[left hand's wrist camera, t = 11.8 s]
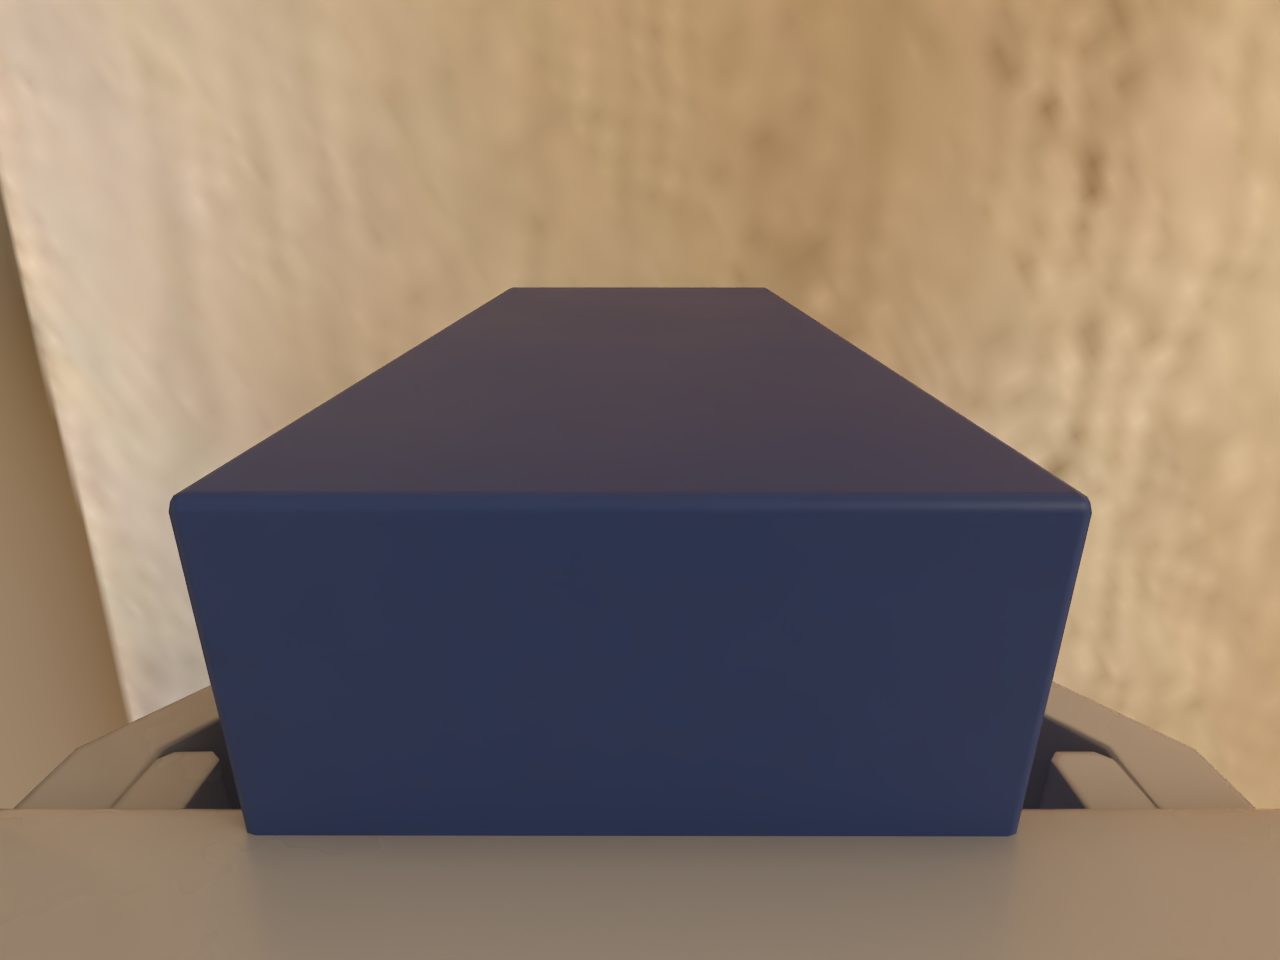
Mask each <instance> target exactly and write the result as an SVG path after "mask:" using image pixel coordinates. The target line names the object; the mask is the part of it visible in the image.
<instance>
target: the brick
mask: <svg viewBox="0 0 1280 960" xmlns="http://www.w3.org/2000/svg"><path fill="white" fill-rule="evenodd" d="M1091 514H1092V512H1091V505H1090V501H1089V499H1088V497H1087V496H1085V495H1084V494H1082V493H1081V492H1079V491H1078V490H1076V489H1074V488H1073V487H1071V486H1070V485H1068V484H1067V483H1065V482H1064V481H1062V480H1061V479H1059V478H1057V477H1056V476H1054V475H1053V474H1051V473H1050V472H1048V471H1047V470H1045V469H1044V468H1042V467H1041V466H1039V465H1037V464H1036V463H1034V462H1033V461H1031V460H1030V459H1028V458H1027V457H1025V456H1024V455H1022V454H1021V453H1019V452H1017V451H1016V450H1014V449H1013V448H1011V447H1010V446H1008V445H1007V444H1005V443H1004V442H1002V441H1000V440H999V439H997V438H996V437H994V436H993V435H991V434H990V433H988V432H987V431H985V430H984V429H982V428H980V427H979V426H977V425H976V424H974V423H973V422H971V421H970V420H968V419H967V418H965V417H964V416H962V415H960V414H959V413H957V412H956V411H954V410H953V409H951V408H950V407H948V406H947V405H945V404H944V403H942V402H940V401H939V400H937V399H936V398H934V397H933V396H931V395H930V394H928V393H927V392H925V391H923V390H922V389H920V388H919V387H917V386H916V385H914V384H913V383H911V382H910V381H908V380H907V379H905V378H903V377H902V376H900V375H899V374H897V373H896V372H894V371H893V370H891V369H890V368H888V367H887V366H885V365H883V364H882V363H880V362H879V361H877V360H876V359H874V358H873V357H871V356H870V355H868V354H867V353H865V352H863V351H862V350H860V349H859V348H857V347H856V346H854V345H853V344H851V343H850V342H848V341H846V340H845V339H843V338H842V337H840V336H839V335H837V334H836V333H834V332H833V331H831V330H830V329H828V328H826V327H825V326H823V325H822V324H820V323H819V322H817V321H816V320H814V319H813V318H811V317H810V316H808V315H806V314H805V313H803V312H802V311H800V310H799V309H797V308H796V307H794V306H793V305H791V304H789V303H788V302H786V301H785V300H783V299H782V298H780V297H779V296H777V295H776V294H774V293H773V292H771V291H769V290H768V289H766V288H511V289H509V290H507V291H505V292H504V293H502V294H500V295H499V296H497V297H496V298H494V299H492V300H491V301H489V302H487V303H486V304H484V305H483V306H481V307H479V308H478V309H476V310H474V311H473V312H471V313H470V314H468V315H466V316H465V317H463V318H461V319H460V320H458V321H457V322H455V323H453V324H452V325H450V326H448V327H447V328H445V329H444V330H442V331H440V332H439V333H437V334H435V335H434V336H432V337H431V338H429V339H427V340H426V341H424V342H422V343H421V344H419V345H418V346H416V347H414V348H413V349H411V350H409V351H408V352H406V353H405V354H403V355H401V356H400V357H398V358H396V359H395V360H393V361H392V362H390V363H388V364H387V365H385V366H383V367H382V368H380V369H379V370H377V371H375V372H374V373H372V374H370V375H369V376H367V377H366V378H364V379H362V380H361V381H359V382H357V383H356V384H354V385H353V386H351V387H349V388H348V389H346V390H345V391H343V392H341V393H340V394H338V395H336V396H335V397H333V398H332V399H330V400H328V401H327V402H325V403H323V404H322V405H320V406H319V407H317V408H315V409H314V410H312V411H310V412H309V413H307V414H306V415H304V416H302V417H301V418H299V419H297V420H296V421H294V422H293V423H291V424H289V425H288V426H286V427H284V428H283V429H281V430H280V431H278V432H276V433H275V434H273V435H271V436H270V437H268V438H267V439H265V440H263V441H262V442H260V443H258V444H257V445H255V446H254V447H252V448H250V449H249V450H247V451H245V452H244V453H242V454H241V455H239V456H237V457H236V458H234V459H232V460H231V461H229V462H228V463H226V464H224V465H223V466H221V467H219V468H218V469H216V470H215V471H213V472H211V473H210V474H208V475H206V476H205V477H203V478H202V479H200V480H198V481H197V482H195V483H193V484H192V485H190V486H189V487H187V488H185V489H184V490H182V491H180V492H179V493H177V494H176V495H174V496H173V498H172V499H171V501H170V507H169V515H170V519H171V523H172V527H173V531H174V535H175V540H176V544H177V548H178V552H179V556H180V560H181V564H182V568H183V572H184V576H185V580H186V585H187V589H188V593H189V597H190V601H191V605H192V609H193V613H194V617H195V621H196V625H197V629H198V634H199V638H200V642H201V646H202V650H203V654H204V658H205V662H206V666H207V670H208V674H209V679H210V683H211V687H212V691H213V695H214V699H215V703H216V707H217V711H218V715H219V719H220V723H221V728H222V732H223V736H224V740H225V744H226V748H227V752H228V756H229V760H230V764H231V768H232V772H233V777H234V781H235V785H236V789H237V793H238V797H239V801H240V805H241V809H242V813H243V817H244V822H245V826H246V830H247V833H250V834H253V835H325V836H1011V835H1014V834H1016V833H1017V828H1018V824H1019V820H1020V816H1021V811H1022V807H1023V803H1024V799H1025V794H1026V790H1027V786H1028V782H1029V777H1030V773H1031V769H1032V765H1033V760H1034V756H1035V752H1036V748H1037V743H1038V739H1039V735H1040V731H1041V726H1042V722H1043V718H1044V714H1045V709H1046V705H1047V701H1048V697H1049V692H1050V688H1051V684H1052V680H1053V675H1054V671H1055V667H1056V663H1057V658H1058V654H1059V650H1060V646H1061V641H1062V637H1063V633H1064V629H1065V624H1066V620H1067V616H1068V612H1069V607H1070V603H1071V599H1072V595H1073V590H1074V586H1075V582H1076V578H1077V573H1078V569H1079V565H1080V561H1081V556H1082V552H1083V548H1084V544H1085V539H1086V535H1087V531H1088V527H1089V522H1090V518H1091Z"/></svg>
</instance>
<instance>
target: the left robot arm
mask: <svg viewBox="0 0 1280 960" xmlns="http://www.w3.org/2000/svg"><path fill="white" fill-rule="evenodd" d="M0 960H1280V809H1256V808H1255V807H1254V806H1253V805H1252V804H1251V803H1250V802H1249V801H1247V800H1246V799H1245V798H1244V797H1243V796H1242V795H1241V794H1240V793H1239V792H1238V791H1237V790H1236V789H1235V788H1234V787H1233V786H1232V785H1231V784H1230V783H1229V782H1228V781H1227V780H1226V779H1225V778H1224V777H1223V776H1222V775H1221V774H1220V773H1219V772H1218V771H1217V770H1216V769H1215V768H1214V767H1213V766H1212V765H1211V764H1210V763H1209V762H1208V761H1207V760H1206V759H1204V758H1203V757H1202V756H1201V755H1200V754H1199V753H1198V752H1197V751H1196V750H1195V749H1193V748H1191V747H1189V746H1187V745H1185V744H1182V743H1180V742H1178V741H1176V740H1174V739H1172V738H1170V737H1168V736H1166V735H1164V734H1162V733H1159V732H1157V731H1155V730H1153V729H1151V728H1149V727H1147V726H1145V725H1143V724H1141V723H1138V722H1136V721H1134V720H1132V719H1130V718H1128V717H1126V716H1124V715H1122V714H1120V713H1118V712H1115V711H1113V710H1111V709H1109V708H1107V707H1105V706H1103V705H1101V704H1099V703H1097V702H1094V701H1092V700H1090V699H1088V698H1086V697H1084V696H1082V695H1080V694H1078V693H1076V692H1074V691H1071V690H1069V689H1067V688H1065V687H1063V686H1061V685H1059V684H1057V683H1055V682H1053V681H1052V684H1051V688H1050V692H1049V697H1048V701H1047V705H1046V709H1045V714H1044V718H1043V722H1042V726H1041V731H1040V735H1039V739H1038V743H1037V748H1036V752H1035V756H1034V760H1033V765H1032V769H1031V773H1030V777H1029V782H1028V786H1027V790H1026V794H1025V799H1024V803H1023V807H1022V811H1021V816H1020V820H1019V824H1018V828H1017V833H1016V834H1014V835H1011V836H325V835H253V834H250V833H247V830H246V826H245V822H244V817H243V813H242V809H241V805H240V801H239V797H238V793H237V789H236V785H235V781H234V777H233V772H232V768H231V764H230V760H229V756H228V752H227V748H226V744H225V740H224V736H223V732H222V728H221V723H220V719H219V715H218V711H217V707H216V703H215V699H214V695H213V691H212V687H211V685H210V686H208V687H206V688H204V689H202V690H200V691H198V692H195V693H193V694H191V695H189V696H187V697H185V698H183V699H181V700H178V701H176V702H174V703H172V704H170V705H168V706H166V707H164V708H161V709H159V710H157V711H155V712H153V713H151V714H149V715H147V716H144V717H142V718H140V719H138V720H136V721H134V722H132V723H130V724H127V725H125V726H123V727H121V728H119V729H117V730H115V731H113V732H111V733H108V734H106V735H104V736H102V737H100V738H98V739H96V740H93V741H91V742H89V743H87V744H85V745H83V746H81V747H79V748H77V749H75V750H74V751H73V752H72V753H71V754H70V755H69V756H68V757H67V758H66V759H65V760H64V761H63V762H62V763H61V764H60V765H59V766H57V767H56V768H55V769H54V770H53V771H52V772H51V773H50V774H49V775H48V776H47V777H46V778H45V779H44V780H43V781H42V782H41V783H40V784H39V785H38V786H37V787H35V788H34V789H33V790H32V791H31V792H30V793H29V794H28V795H27V796H26V797H25V798H24V799H23V800H22V801H21V802H20V803H19V804H18V805H17V806H16V807H14V808H13V809H0Z"/></svg>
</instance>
